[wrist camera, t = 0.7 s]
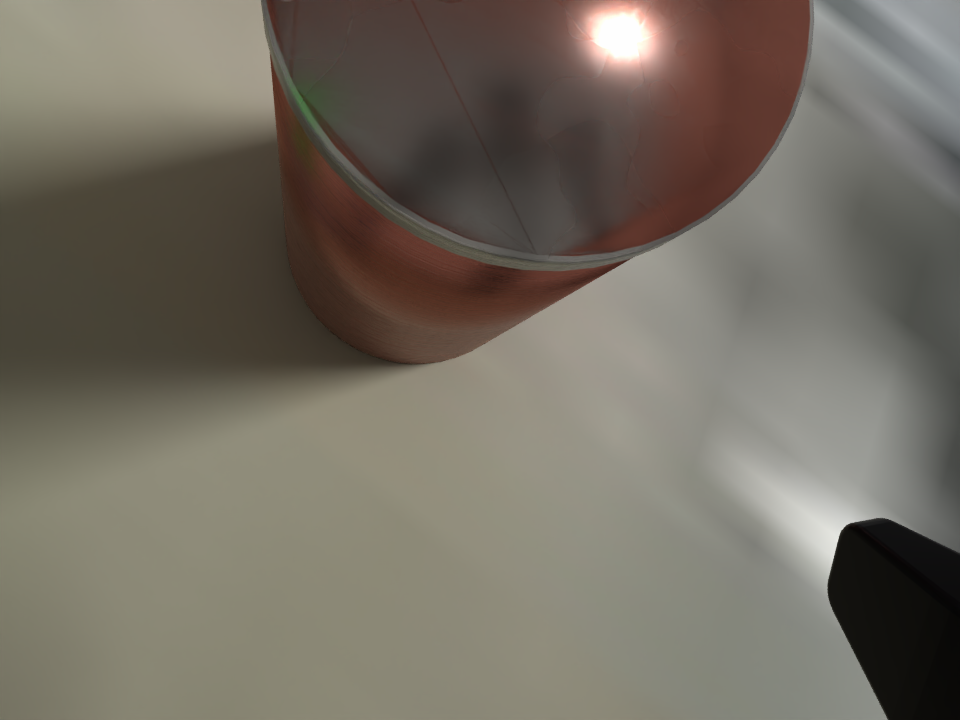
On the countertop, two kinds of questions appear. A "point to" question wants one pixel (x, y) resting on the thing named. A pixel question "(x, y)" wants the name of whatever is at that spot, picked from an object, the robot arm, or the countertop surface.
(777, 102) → the tin can
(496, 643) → the countertop surface
